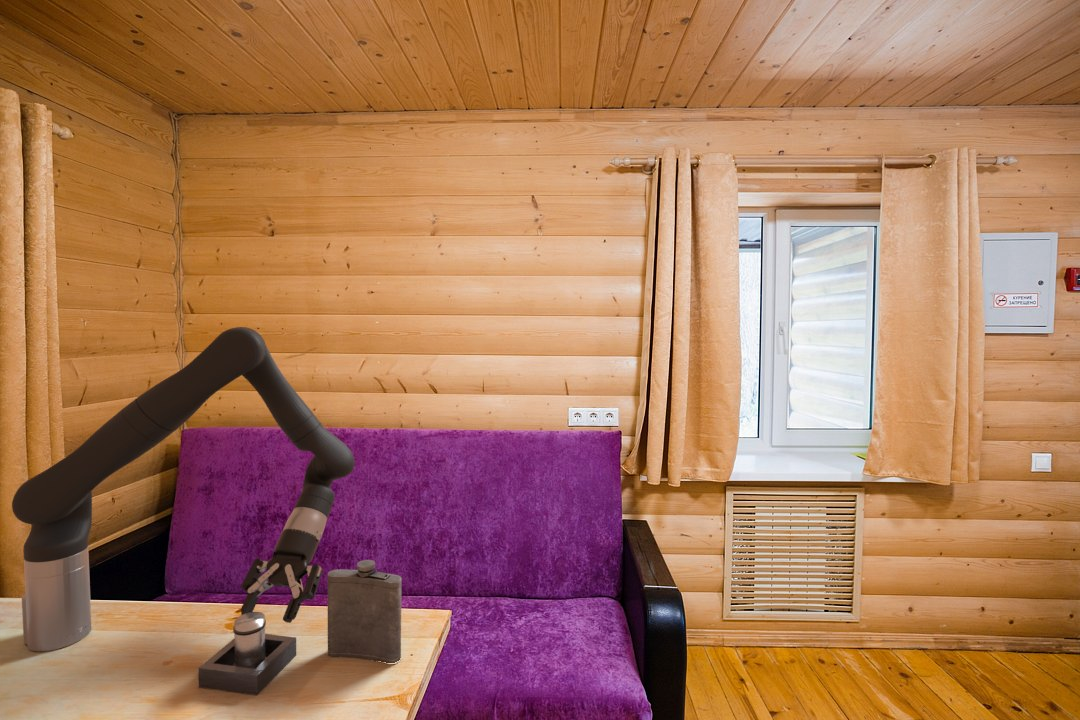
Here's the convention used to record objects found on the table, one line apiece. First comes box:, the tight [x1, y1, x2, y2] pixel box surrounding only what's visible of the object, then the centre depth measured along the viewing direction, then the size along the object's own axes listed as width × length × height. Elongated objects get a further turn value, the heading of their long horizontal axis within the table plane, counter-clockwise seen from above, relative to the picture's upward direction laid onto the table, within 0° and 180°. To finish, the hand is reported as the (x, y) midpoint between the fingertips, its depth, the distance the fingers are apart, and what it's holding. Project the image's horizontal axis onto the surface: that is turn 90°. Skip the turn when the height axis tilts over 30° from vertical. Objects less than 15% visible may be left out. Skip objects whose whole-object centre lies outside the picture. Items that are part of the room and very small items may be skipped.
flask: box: [327, 559, 403, 663], centre depth 101 cm, size 4×14×18 cm, turn 82°
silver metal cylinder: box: [232, 611, 267, 669], centre depth 96 cm, size 5×5×10 cm
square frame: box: [197, 633, 297, 696], centre depth 96 cm, size 11×11×4 cm
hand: (265, 619), depth 100 cm, fingers open, 8 cm apart
